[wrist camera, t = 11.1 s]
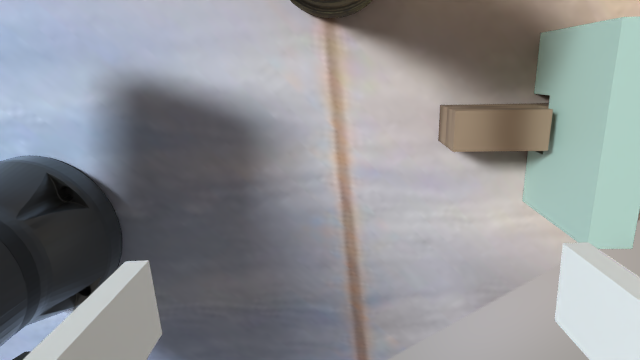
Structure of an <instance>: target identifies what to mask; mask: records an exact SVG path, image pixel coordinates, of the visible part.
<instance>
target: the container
mask: <svg viewBox="0 0 640 360" xmlns="http://www.w3.org/2000/svg"><path fill="white" fill-rule="evenodd" d="M290 1H291V2H292V3H293V4H295V5H296V6H297V7H299V8H300V9H301V10H303V11H305V12H307V13H309V14H312V15H315V16H318V17H323V18H338V17H344V16H347V15H350V14H353V13H355V12H357V11H359V10H361V9H362V8H364V7H365V6H367V5H368V4H369V3H370V2H371V1H372V0H290Z"/></svg>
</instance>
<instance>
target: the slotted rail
mask: <svg viewBox="0 0 640 360" xmlns="http://www.w3.org/2000/svg"><path fill="white" fill-rule="evenodd" d="M548 107H549V103H540V104H481V105H440V120H439V139H438V141H440V142H441V143H442V144H444V145H445V146H446V147H448V148H449V149H450V150H451V151H453V152H475V151H548V146H549V138H550V130H551V121H552V113H553V109H549V108H548Z"/></svg>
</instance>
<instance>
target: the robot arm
mask: <svg viewBox="0 0 640 360" xmlns="http://www.w3.org/2000/svg"><path fill="white" fill-rule="evenodd" d="M121 251H122V236H121V230H120V225H119V222H118V219H117V216H116V214H115V211H114V209H113V207H112V205H111V204H110V202H109V200H108V199H107V197H106V196H105V195H104V193H103V192H102V191H101V190H100V189H99V187H98V186H97V185H96V184H95V183H94V182H93V181H92V180H90V179H89V178H88V177H87V176H86V175H84V174H83V173H82V172H80V171H78V170H77V169H75V168H73V167H72V166H70V165H68V164H66V163H63V162H61V161H58V160H55V159H51V158H47V157H41V156H20V157H15V158H11V159H7V160H3V161H0V346H1V345H2V344H4V343H5V342H6V341H7V340H9V339H10V338H11V337H12V336H13V335H14V334H16V333H17V332H18V331H20V330H21V329H22V328H23V327H25V326H26V325H29V324H32V323H34V322H37V321H40V320H43V319H45V318H48V317H51V316H53V315H56V314H59V313H62V312H64V311H67V310H70V309H72V308H75V307H77V306H78V307H77V308H76V309H75V310H74V311H73V312H72V313H71V314H70V315H69V316H68V317H67V318H66V319H65V320H64V321H63V322H62V323H61V324H59V325H58V326H57V327H56V328H55V329H54V330H53V331H52V332H51V333H50V334H49V335H48V336H47V337H46V338H45V339H44V340H43V341H42V342H41V343H40V344H39V345H38V346H36V347H35V348H34V349H33V350H32V351H31V352H24V353H22V354H21V355H19V356H18V357H16V358H14V359H13V360H146V359H147V358H148V356H149V355H150V353H151V351H152V350H153V348H154V347H155V345H156V343H157V342H158V340H159V339H160V337H161V335H162V329H161V324H160V318H159V313H158V308H157V302H156V297H155V291H154V286H153V280H152V275H151V269H150V264H149V260H146V261H125V262H124V263H123V264H122V265H121V266H120V267H119V268H118V269H117V267H118V264H119V261H120V257H121ZM116 269H117V270H116ZM555 321H556V323H557V324H558V325H559V326H560V327H561V328H562V329H563V330H564V331H565V332H566V334H567V335H568V336H569V337H570V338H571V339H572V341H573V342H574V343H575V344H576V345H577V346H578V347H579V348H580V349H581V350H582V352H583V353H584V354H585V355H586V356H587V357H588V358H589V360H640V277H639V276H637V275H636V274H635V273H633V272H632V271H630V270H629V269H627V268H626V267H624V266H623V265H621V264H620V263H618V262H617V261H615V260H614V259H612V258H611V257H609V256H608V255H606V254H605V253H603V252H602V251H600V250H599V249H598V248H596V247H595V246H593V245H592V244H590V243H589V242H582V243H563V249H562V258H561V267H560V276H559V286H558V294H557V304H556V312H555Z"/></svg>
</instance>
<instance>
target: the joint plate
mask: <svg viewBox="0 0 640 360" xmlns="http://www.w3.org/2000/svg"><path fill="white" fill-rule="evenodd" d="M534 93H535V94H543V95H550V99H549V107H548V108H549V109H553V113H552V121H551V130H550V138H549V146H548V151H528V155H527V164H526V173H525V183H524V192H523V202H524V203H526V204H527V205H529V206H530V207H531V208H533V209H534V210H535V211H537V212H538V213H539V214H541V215H542V216H543V217H545V218H546V219H547V220H549V221H550V222H551V223H553V224H554V225H555V226H557V227H558V228H560V229H561V230H562V231H564V232H565V233H566V234H568V235H569V236H570V237H572V238H573V239H574V240H576V241H577V242H578V243H582V242H589V243H590V244H592V245H593V246H595V247H596V248H598V249H632V247H633V242H634V236H635V231H636V225H637V221H638V215H639V210H640V17H621V18H616V19H611V20H606V21H601V22H595V23H590V24H585V25H580V26H575V27H569V28H564V29H559V30H554V31H549V32H543V33H541V35H540V44H539V53H538V63H537V72H536V81H535V90H534Z"/></svg>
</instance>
